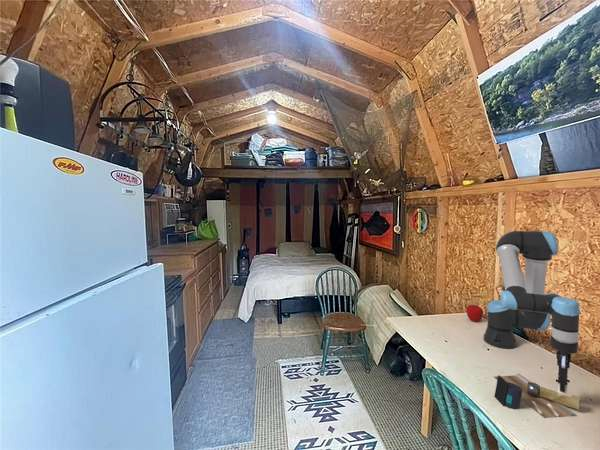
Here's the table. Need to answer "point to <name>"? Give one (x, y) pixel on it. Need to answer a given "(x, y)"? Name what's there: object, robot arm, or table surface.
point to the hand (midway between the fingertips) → (562, 398)
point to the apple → (474, 313)
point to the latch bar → (552, 395)
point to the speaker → (508, 393)
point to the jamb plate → (538, 400)
